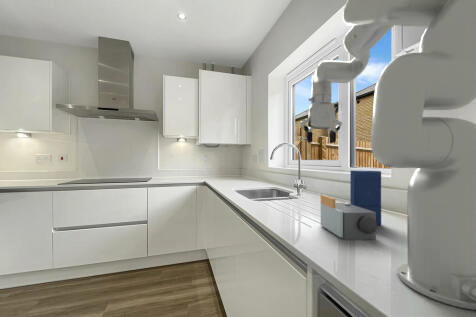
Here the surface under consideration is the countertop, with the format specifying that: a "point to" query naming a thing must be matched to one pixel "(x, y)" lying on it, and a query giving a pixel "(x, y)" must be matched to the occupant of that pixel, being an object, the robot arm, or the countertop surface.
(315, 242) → the countertop surface
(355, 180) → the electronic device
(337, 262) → the countertop surface
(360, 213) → the camera case
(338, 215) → the side door
